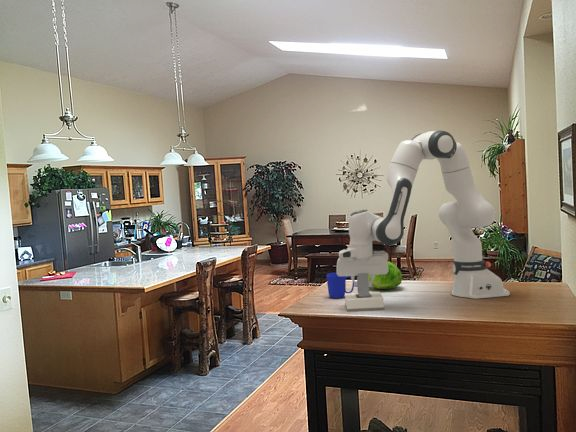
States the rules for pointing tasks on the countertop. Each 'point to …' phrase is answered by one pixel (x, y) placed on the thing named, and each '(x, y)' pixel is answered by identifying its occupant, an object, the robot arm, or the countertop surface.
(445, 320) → the countertop surface
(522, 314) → the countertop surface
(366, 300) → the well block
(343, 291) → the mug
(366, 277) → the grey brushed prism
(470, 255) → the robot arm
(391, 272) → the lettuce
